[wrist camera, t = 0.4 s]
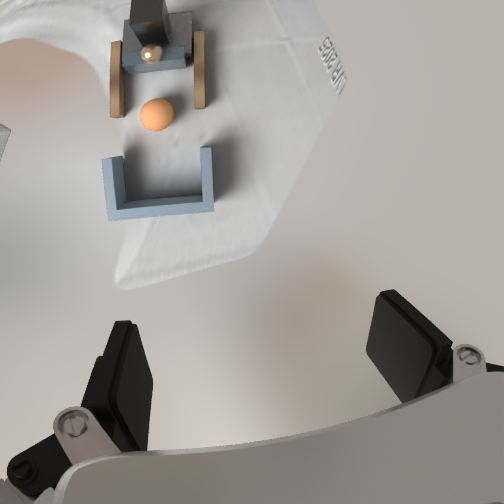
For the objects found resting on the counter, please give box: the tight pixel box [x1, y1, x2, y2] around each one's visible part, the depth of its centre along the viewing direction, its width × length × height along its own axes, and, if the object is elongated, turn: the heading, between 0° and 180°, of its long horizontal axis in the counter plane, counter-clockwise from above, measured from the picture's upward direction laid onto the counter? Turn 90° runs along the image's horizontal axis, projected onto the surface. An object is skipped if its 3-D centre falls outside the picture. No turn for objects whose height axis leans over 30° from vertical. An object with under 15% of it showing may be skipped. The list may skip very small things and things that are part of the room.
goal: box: [102, 147, 214, 221], centre depth 34 cm, size 7×12×5 cm, turn 91°
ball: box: [140, 99, 174, 131], centre depth 31 cm, size 4×4×4 cm
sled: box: [122, 0, 192, 75], centre depth 25 cm, size 8×8×10 cm
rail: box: [110, 31, 205, 118], centre depth 30 cm, size 10×11×2 cm
